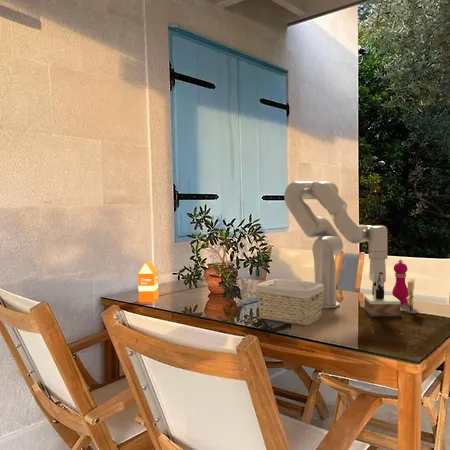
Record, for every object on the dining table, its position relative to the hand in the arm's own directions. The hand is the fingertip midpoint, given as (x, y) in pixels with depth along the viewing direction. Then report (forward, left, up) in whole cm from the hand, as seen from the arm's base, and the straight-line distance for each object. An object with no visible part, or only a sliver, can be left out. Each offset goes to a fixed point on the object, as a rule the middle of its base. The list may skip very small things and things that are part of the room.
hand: (378, 296), depth 196 cm
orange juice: (-106, +23, -7) cm, 108 cm away
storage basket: (-38, -10, -7) cm, 40 cm away
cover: (+1, 0, -2) cm, 2 cm away
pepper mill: (+14, +19, -7) cm, 25 cm away
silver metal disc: (+13, 0, -7) cm, 15 cm away
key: (+13, -2, -6) cm, 14 cm away
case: (+1, 0, -7) cm, 7 cm away
